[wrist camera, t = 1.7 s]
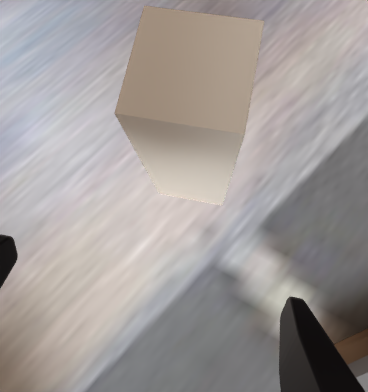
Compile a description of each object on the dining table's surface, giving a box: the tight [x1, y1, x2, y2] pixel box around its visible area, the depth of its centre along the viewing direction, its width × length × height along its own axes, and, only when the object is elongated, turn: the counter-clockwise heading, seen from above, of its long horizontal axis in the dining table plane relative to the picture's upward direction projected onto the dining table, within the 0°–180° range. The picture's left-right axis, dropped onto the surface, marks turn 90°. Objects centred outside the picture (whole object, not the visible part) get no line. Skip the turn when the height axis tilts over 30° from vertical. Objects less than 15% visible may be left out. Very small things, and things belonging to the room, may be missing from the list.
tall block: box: [115, 6, 264, 205], centre depth 19 cm, size 5×5×13 cm
